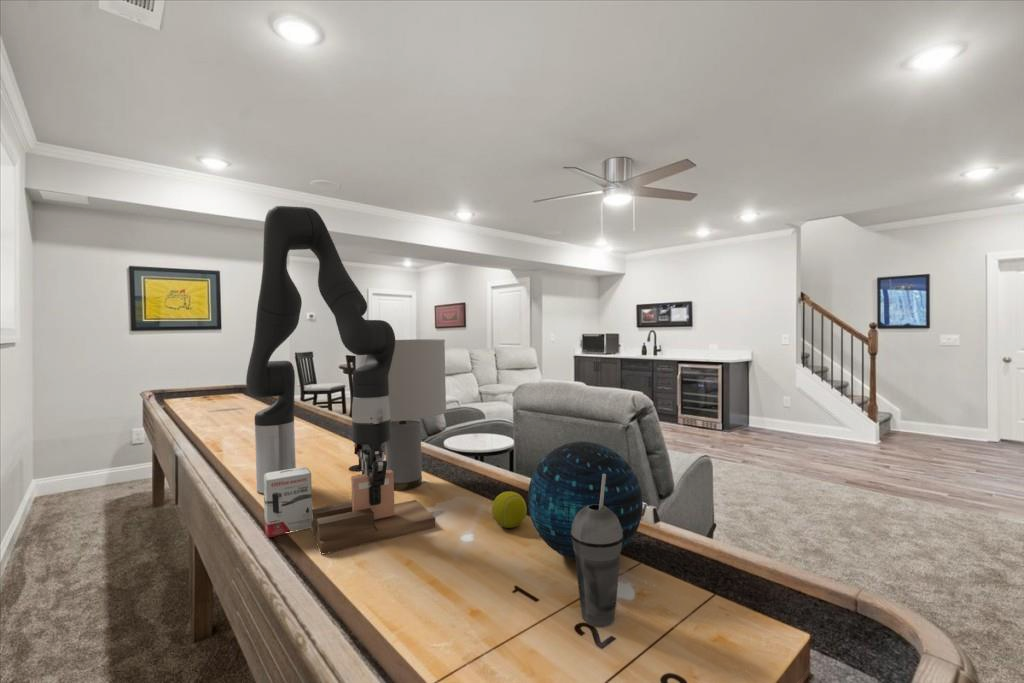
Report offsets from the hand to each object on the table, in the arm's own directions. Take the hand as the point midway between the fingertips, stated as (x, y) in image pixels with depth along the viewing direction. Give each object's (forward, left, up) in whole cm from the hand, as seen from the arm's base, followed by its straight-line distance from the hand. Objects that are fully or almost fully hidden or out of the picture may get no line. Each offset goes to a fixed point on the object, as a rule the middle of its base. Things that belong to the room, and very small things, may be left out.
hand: (373, 502), depth 96 cm
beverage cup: (+47, +19, -6) cm, 51 cm away
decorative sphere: (+32, +29, -6) cm, 43 cm away
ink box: (-10, -15, -6) cm, 19 cm away
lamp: (-24, +14, -6) cm, 28 cm away
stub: (0, 0, -3) cm, 3 cm away
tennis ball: (+14, +24, -6) cm, 28 cm away
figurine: (-46, +8, -6) cm, 47 cm away
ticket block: (0, 0, -6) cm, 6 cm away
